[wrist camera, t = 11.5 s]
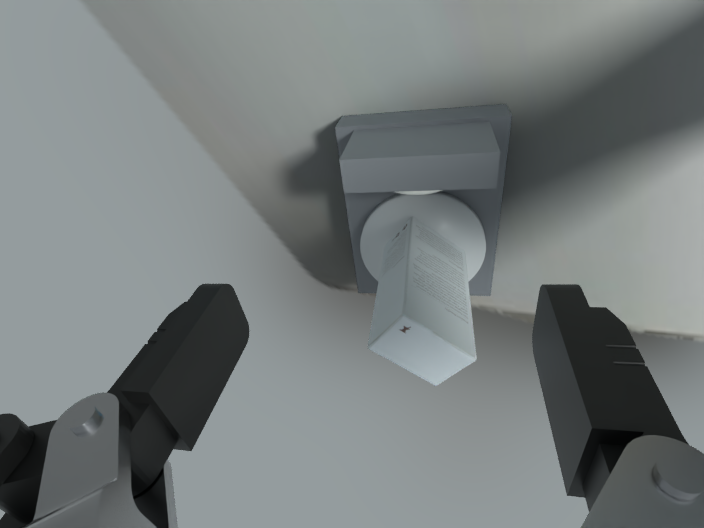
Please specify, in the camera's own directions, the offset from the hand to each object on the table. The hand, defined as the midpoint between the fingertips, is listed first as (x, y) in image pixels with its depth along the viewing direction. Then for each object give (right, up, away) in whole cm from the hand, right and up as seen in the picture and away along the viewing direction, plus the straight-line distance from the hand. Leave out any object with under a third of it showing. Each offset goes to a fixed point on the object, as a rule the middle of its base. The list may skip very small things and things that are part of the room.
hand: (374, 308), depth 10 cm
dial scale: (+6, +7, +26) cm, 28 cm away
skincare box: (+6, +3, +24) cm, 25 cm away
